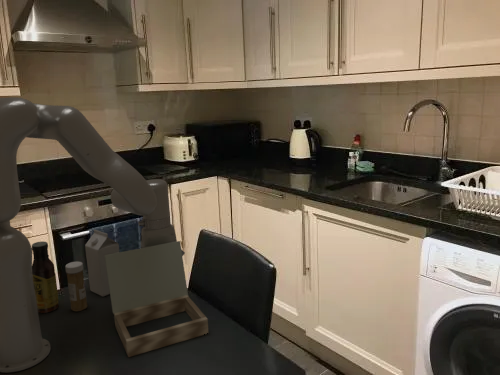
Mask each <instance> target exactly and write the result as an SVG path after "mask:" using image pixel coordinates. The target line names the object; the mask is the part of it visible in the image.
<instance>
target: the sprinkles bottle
mask: <svg viewBox="0 0 500 375" xmlns="http://www.w3.org/2000/svg"><path fill="white" fill-rule="evenodd" d="M83 264H84V263H83V262H82V261H71V262H69V263H67V264H66V265H65V273H66V277H67V286H68V288H67V289H68V294H69V302H70V310H71V311H73V312H81V311H84V310H86V309H87V308H88V301H87V292H86V284H85V279H84V278H85V277H84V265H83Z"/></svg>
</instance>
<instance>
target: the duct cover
mask: <svg viewBox="0 0 500 375" xmlns="http://www.w3.org/2000/svg"><path fill="white" fill-rule="evenodd" d="M181 244H182V243H181V241H180V240H179V241H178V240H177V242H172V243H166V244H161V245H156V246H151V247H145V248H141V247H140V248H135V249H130V250H125V251H119V253H114V254H108V255H104V256H105V263H106V269H107V276H108V283H109V290H110V294H109V296H110V301H111V302H110V303H111V311H112V314H113V315H114V313H118V312H122V311H126V310H130V309H134V308H138V307H142V306H146V305H150V304H154V303H158V302H162V301H166V300H170V299H174V298H178V297H182V296H186V295H188V296H189V293H188V287H187V286H188V285H187V279H186V272H185V265H184V257H183V256H182V251H181V249H182V245H181Z"/></svg>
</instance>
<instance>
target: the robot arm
mask: <svg viewBox="0 0 500 375" xmlns="http://www.w3.org/2000/svg"><path fill="white" fill-rule="evenodd" d="M26 138H30V139H41V140H42V139H43V140H54V141H57V142H58V143H59V144H60V146H61V147H63V149H65V151H66V152H67V153H68V154H69V155H70V156H71V157H72V158H73V159H74V160H75V162H76V163H77V164H78V165H79V167H80V168H81V169H82V170H83V171H85V172H86V173H88V175H90V176H92V177H93V178H95V179H96V180H99V181H100V182H102V183H104V184H106V185H108V186H109V187H111V188H112V191H111V193H110V201H111V203H112V205H113V206H114V207H116V208H117V209H118V210H121V211H124V212H127V213H131V214H134V215H137V216H142V220H140V221H138V222H137V223H138V227H141V232H140V248H145V247H151V246H156V245H161V244H166V243H172V242H177V241H178V240H177V235H176V229H175V226H174V225H173V224H172V223H171V214H170V201H169V188H168V187H169V186H168V183H167V181H166V180H164V179H160V178H158V179H157V178H155V179H153V178H152V179H145V178H144V176H143V175H142V174H141V173H140V172H139V171H138V170H137V168H134V166H132V165H131V164H130V163H129V162H127V161H126V160H125V159H124V158H123V157H121V156H120V155H119V154H118V153H117V152H115V150H113V149H112V148H111V147H110V145H109V144H108V142H106V141H105V139H104V138H103V137H102V135H101V134H99V131H97V129H95V127H94V126H93V125H92V123H91V122H90V121H89V120H88V119H87V118H86V116H85V115H84V114H83V113H82V111H80V109H77V108H76V107H74V106H70V105H54V104H53V105H52V104H40V103H34V102H33V101H30V100H28V99H27V98H23V97H11V96H10V97H0V373H15V372H21V371H24V370H26V369H30V368H32V367H34V366H36V365H38V364H40V363H41V362H42V361H44V360H45V359H46V358H47V356H49V354H50V352H51V343H50V341H49V340H47V339H45V338H43V337H42V330H41V325H40V317H39V312H38V309H37V302H36V296H35V290H34V283H33V275H32V264H33V250H32V244H31V243H30V241H29V239H28V238H27V236H26V235H25V234H24V233H23V232H22V231H20V229H19V230H18V229H17V228H15V227H13V226H11V220H13V219H14V218H15V217H17V215H18V214H19V212H20V210H21V206H22V205H21V204H22V198H21V192H20V185H19V176H18V166H17V165H18V163H17V162H18V160H17V154H18V150H19V147H20V146H21V144H22V142H23V140H25V139H26ZM181 251H182V257H183V256H184V255H185V253H186V252H185V251H184V250H182V248H181Z"/></svg>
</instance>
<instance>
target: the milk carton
mask: <svg viewBox="0 0 500 375" xmlns="http://www.w3.org/2000/svg"><path fill="white" fill-rule="evenodd" d="M108 235H109V234H108V233H107V232H103V231H100V230H98V229H93V234H91V236H90V238H89V239H88V241H87V242H86V243H85V244H84V249H85V256H86V257H85V258H86V265H87V272H88V282H89V290H90V291H91V292H92V293H94V294H97V295H99V296H100V297H105V296H108V295H110V290H109V283H108V276H107V269H106V263H105V256H104V255H108V254H114V253H119V252H120V246H119V243H118V242H117V241H116V240H114V239H112V238H110V237H109V236H108Z"/></svg>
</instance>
